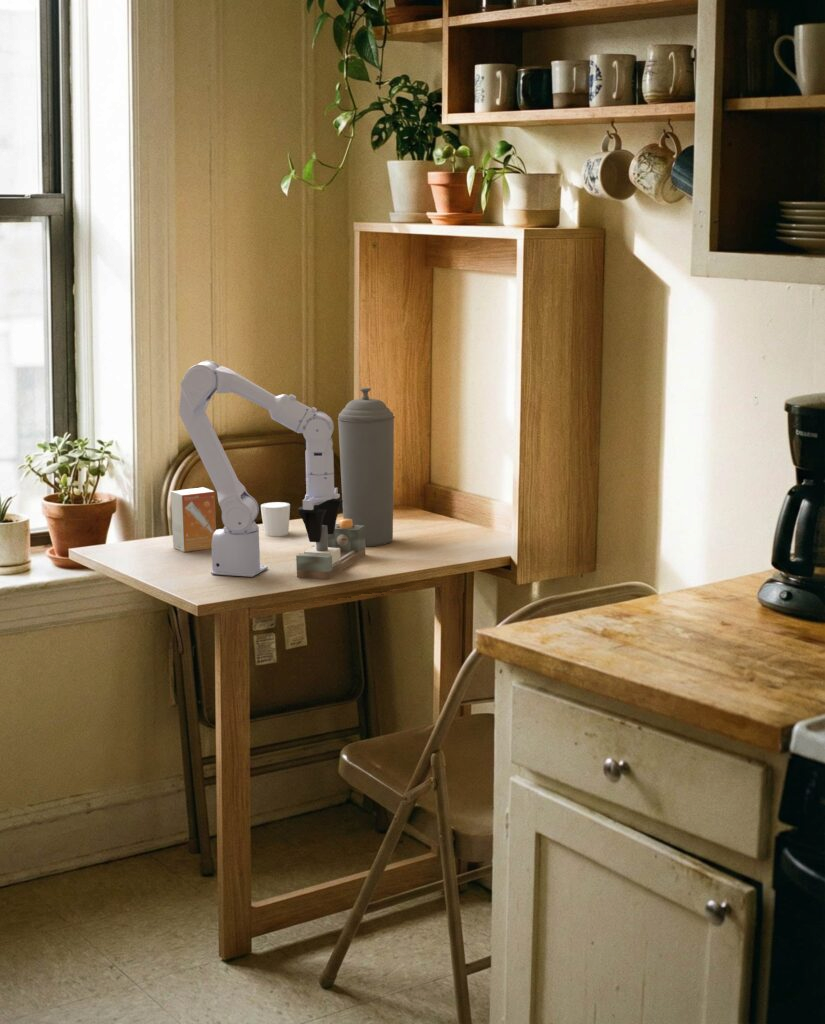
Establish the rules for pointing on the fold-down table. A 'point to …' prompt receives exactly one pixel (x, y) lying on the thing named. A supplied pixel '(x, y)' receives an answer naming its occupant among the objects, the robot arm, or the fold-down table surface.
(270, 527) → the white tapered cylinder
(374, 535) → the canister
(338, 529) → the rail base
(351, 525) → the button
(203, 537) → the small box
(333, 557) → the carriage
